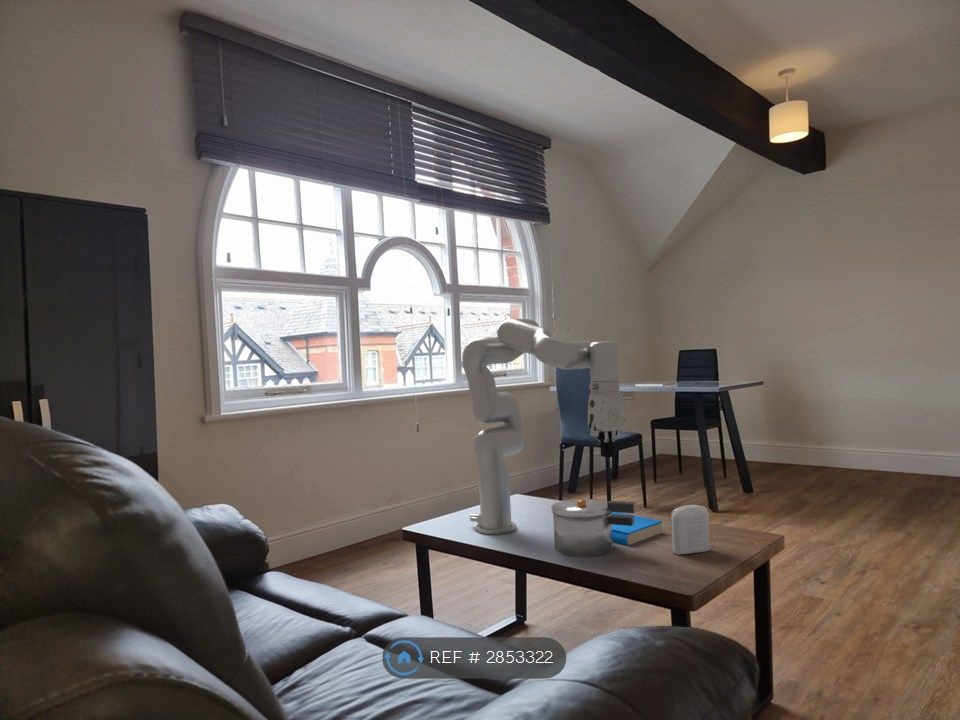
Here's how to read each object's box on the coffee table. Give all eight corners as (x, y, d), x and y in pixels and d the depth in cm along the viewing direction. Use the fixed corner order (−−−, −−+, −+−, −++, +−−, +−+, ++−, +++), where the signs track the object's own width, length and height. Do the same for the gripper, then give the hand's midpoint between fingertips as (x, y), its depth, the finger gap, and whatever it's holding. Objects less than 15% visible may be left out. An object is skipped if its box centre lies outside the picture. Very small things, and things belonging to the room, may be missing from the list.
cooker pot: (546, 553, 173) (545, 516, 173) (564, 537, 188) (563, 503, 188) (627, 561, 164) (626, 522, 164) (640, 543, 178) (638, 508, 178)
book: (595, 507, 207) (662, 519, 188) (596, 520, 207) (663, 534, 188) (560, 518, 196) (627, 532, 177) (560, 532, 196) (627, 547, 177)
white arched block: (703, 547, 173) (701, 501, 173) (712, 551, 169) (710, 505, 169) (669, 551, 170) (667, 505, 170) (678, 556, 166) (676, 509, 166)
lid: (543, 516, 173) (542, 505, 173) (562, 501, 188) (561, 492, 188) (628, 522, 163) (627, 510, 163) (640, 506, 179) (640, 496, 179)
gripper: (594, 390, 162) (596, 462, 162) (635, 386, 170) (637, 454, 171) (574, 389, 168) (576, 458, 169) (614, 385, 176) (616, 451, 177)
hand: (607, 456), depth 170 cm, fingers closed
